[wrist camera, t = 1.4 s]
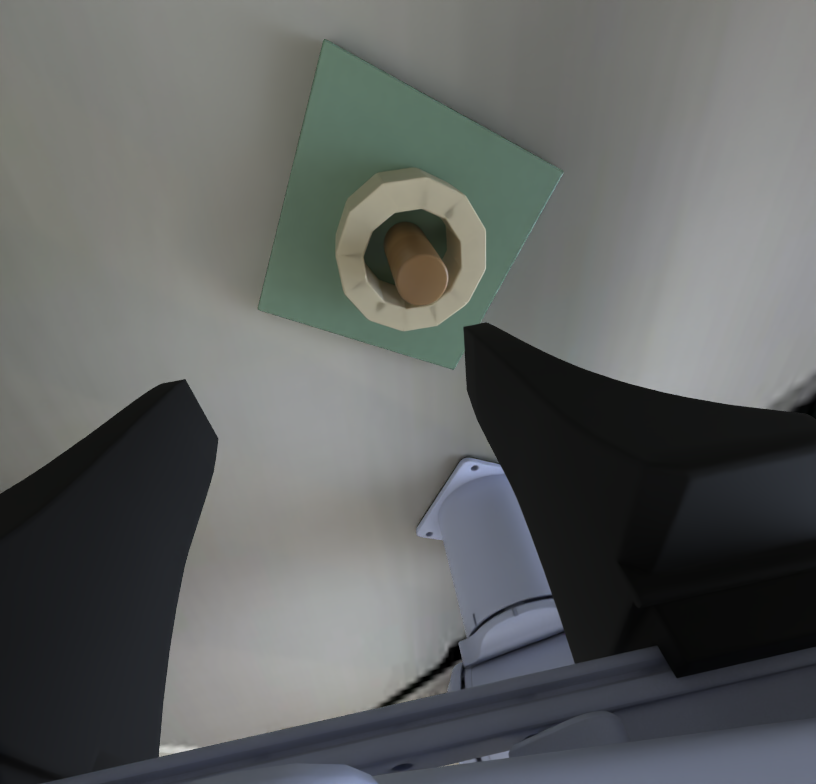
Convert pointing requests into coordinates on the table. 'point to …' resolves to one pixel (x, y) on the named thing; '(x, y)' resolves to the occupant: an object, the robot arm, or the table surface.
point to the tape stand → (404, 231)
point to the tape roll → (375, 207)
